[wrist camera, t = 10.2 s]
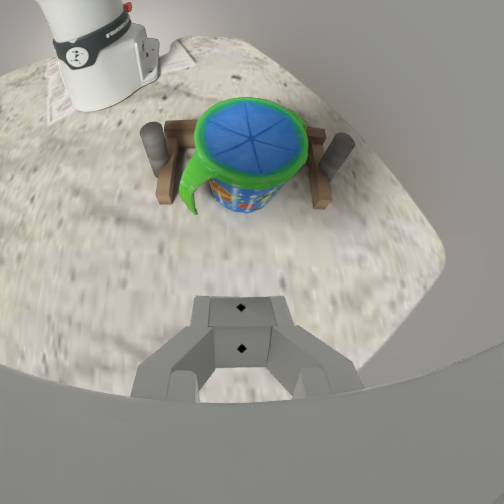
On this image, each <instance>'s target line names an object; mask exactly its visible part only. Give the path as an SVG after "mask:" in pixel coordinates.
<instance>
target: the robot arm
mask: <svg viewBox="0 0 504 504" xmlns="http://www.w3.org/2000/svg"><path fill="white" fill-rule="evenodd" d="M36 1H37V3H38V4H39V5H40V7H41V9H42V11H43V13H44V15H45V17H46V19H47V22H48V24H49V27H50V29H51V32H52V34H53V37H54V39H53V45H54V50H55V52H56V53H57V56H58V58H59V59H60V60H59V62H58V66H59V69H60V73H61V76H62V79H63V82H64V85H65V89H64V91H63V93H64V96H65V97H67V98H69V99H70V100H71V103H72V106H73V107H74V108H75V109H77V110H79V111H84V112H90V111H97V110H101V109H104V108H107V107H110V106H112V105H114V104H116V103H118V102H120V101H122V100H124V99H125V98H127V97H128V96H130V95H131V94H132V93H134V92H135V91H136V90H137V89H139V88H140V87H142V86H144V85H147V84H149V83H151V82H153V81H155V80H156V79H157V78H158V59H159V41H158V39H153V38H147V35H146V30H145V27H144V26H142V25H139V24H136V23H132V22H131V20H130V16H129V14H128V13H127V12H131V10H132V5H131V2H128V3H125V4H122V0H36ZM236 367H267V369H268V370H269V371H270V373H271V374H272V375H273V376H274V377H275V378H276V379H277V380H278V381H279V382H280V383H281V384H282V385H283V386H284V388H285V389H286V390H287V391H288V392H289V393H290V394H291V395H292V396H293V397H292V400H282V401H269V402H250V403H200V398H199V391H200V389H201V388H202V387H203V385H204V384H205V383H206V381H207V380H208V379H209V377H210V376H211V375H212V373H213V372H214V371H215V368H236ZM0 504H504V342H502V343H500V344H498V345H496V346H494V347H491V348H489V349H487V350H485V351H483V352H481V353H478V354H476V355H473V356H471V357H468V358H466V359H463V360H461V361H458V362H455V363H453V364H450V365H447V366H444V367H441V368H439V369H436V370H433V371H429V372H427V373H423V374H420V375H417V376H413V377H410V378H406V379H402V380H399V381H395V382H391V383H387V384H383V385H379V386H374V387H370V388H365V389H364V386H363V384H362V382H361V380H360V378H359V376H358V373H357V371H356V369H355V367H354V365H353V363H352V361H351V360H349V359H348V358H346V357H344V356H343V355H341V354H340V353H338V352H337V351H335V350H334V349H332V348H331V347H330V346H328V345H327V344H325V343H324V342H322V341H321V340H319V339H318V338H316V337H315V336H313V335H312V334H310V333H309V332H307V331H306V330H305V329H303V328H302V327H300V326H299V325H297V326H294V323H293V320H292V317H291V314H290V311H289V308H288V305H287V302H286V299H285V297H284V296H269V297H221V296H211V297H210V296H195V298H194V304H193V311H192V318H191V325H190V327H188V326H186V327H185V328H184V329H182V330H181V331H180V332H179V333H178V334H176V335H175V336H174V337H173V338H172V339H170V340H169V341H168V342H167V343H166V344H164V345H163V346H162V347H161V348H160V349H158V350H157V351H156V352H155V353H153V354H152V355H151V356H150V357H149V358H147V359H146V360H145V361H144V362H143V363H141V364H140V365H139V366H138V369H137V373H136V376H135V380H134V384H133V388H132V392H131V396H130V397H127V396H121V395H114V394H108V393H103V392H97V391H92V390H87V389H82V388H78V387H74V386H69V385H65V384H61V383H58V382H54V381H50V380H47V379H43V378H40V377H37V376H33V375H30V374H27V373H24V372H21V371H18V370H15V369H13V368H10V367H7V366H4V365H2V364H0Z"/></svg>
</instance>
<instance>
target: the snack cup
mask: <svg viewBox="0 0 504 504" xmlns="http://www.w3.org/2000/svg"><path fill="white" fill-rule="evenodd" d="M306 129H307V124H306V122H305V121H304V120H303V119H302V118H301V117H300V116H298V115H297V114H296V113H295V112H293V111H291V110H289V109H285V108H284V107H282V106H280V105H278V104H276V103H274V102H271V101H268V100H265V99H260V98H252V97H239V98H232V99H228V100H225V101H222V102H219V103H217V104H215V105H214V106H212V107H211V108H209V109H208V110H207V111H206V112H205V113H204V114H203V115H202V116H201V117H200V118H199V119H198V121H197V124H196V127H195V131H194V144H195V149H196V150H195V154H194V155H193V157H192V158H191V160H190V161H189V163H188V165H187V166H186V168H185V170H184V172H183V174H182V177H181V181H180V185H179V195H180V197H181V198H182V199H183V201H184V202H185V203H186V205H187V206H188V207H189V209H190V210H191V211H192V212H193V213H194V214H195V215H197V214H198V213H197V210H196V208H195V201H194V192H195V191H196V189H197V188H198V187H199V186H200V185H201V184H203V183H204V182H206V181H207V180H209V183H210V187H211V190H212V192H213V194H214V196H215V198H216V200H217V201H218V202H219V203H220V204H221V205H223V206H224V207H226V208H228V209H230V210H232V211H235V212H244V213H250V212H253V211H255V210H258V209H261V208H262V207H264V206H265V205H266V204H267V203H268V202H269V201H270V200H271V199H272V198H273V197H274V196H275V194H276V193H277V192H278V191H279V190H280V188H281V187H282V186H283V184H284V183H285V182H287V181H288V180H290V179H291V178H292V177H293V176H294V175H295V174H296V173H297V172H298V171H299V169H300V168H301V166H303V165H304V164H305V163H306V160H307V158H308V153H307V152H308V138H307V134H306Z"/></svg>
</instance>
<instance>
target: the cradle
mask: <svg viewBox="0 0 504 504" xmlns="http://www.w3.org/2000/svg"><path fill="white" fill-rule="evenodd" d="M197 121H198V120H174V121H166V122H165V126H164V132H163V128H162V125H161V124H160V123H158V122H150V123H147V124H145V125H144V126H143V127H142V128H141V130H140V136H141V139H142V141H143V144H144V147H145V150H146V153H147V156H148V158H149V161H150V164H151V167H152V169H153V172H154V175H155V176H156V177H157V178H158V182H157V189H156V197H157V199H158V201H159V204H172V200H173V191H174V183H175V175H176V167H177V160H178V153H179V148H195V144H194V131H195V127H196V124H197ZM164 133H165V137H164ZM306 134H307V138H308V152H307V153H308V158H307V162H308V169H309V177H310V184H311V193H312V201H313V209H325V208H326V207H327V206H328V205H329V203H330V202H331V201H332V198H331V191H330V185H329V181H330V180H331V179H332V177H333V176H334V174H335V173H336V172H337V170H338V169H339V167H340V166H341V165H342V163H343V162H344V160H345V159H346V158H347V156H348V155H349V153H350V152H351V151H352V149H353V148H354V146H355V143H354V140H353V139H352V138H351V137H350V136H349V135H347V134H345V133H337V134H336V135H335V137H334V138H333V140H332V142H331V143H330V145H329V147H328V149H327V150H326V152H325V154H324V150H323V143H324V141H325V139H326V135H325V130H324V129H319V128H312V127H307V129H306Z"/></svg>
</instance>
